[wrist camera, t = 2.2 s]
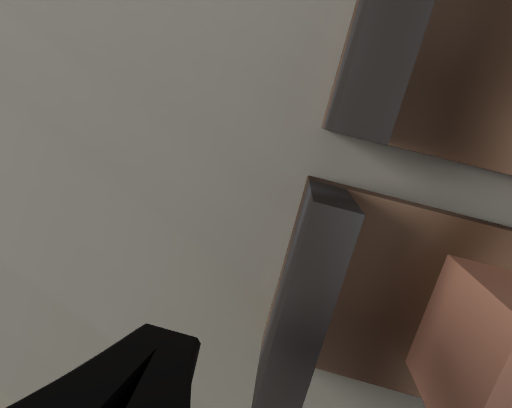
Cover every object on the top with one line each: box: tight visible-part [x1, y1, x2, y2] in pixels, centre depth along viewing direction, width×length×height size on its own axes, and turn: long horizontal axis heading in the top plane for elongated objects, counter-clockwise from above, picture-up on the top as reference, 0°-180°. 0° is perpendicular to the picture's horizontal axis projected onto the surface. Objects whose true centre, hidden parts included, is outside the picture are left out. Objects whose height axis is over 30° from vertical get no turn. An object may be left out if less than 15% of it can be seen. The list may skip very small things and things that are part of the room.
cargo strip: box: [252, 176, 512, 408], centre depth 13 cm, size 12×8×5 cm, turn 76°
